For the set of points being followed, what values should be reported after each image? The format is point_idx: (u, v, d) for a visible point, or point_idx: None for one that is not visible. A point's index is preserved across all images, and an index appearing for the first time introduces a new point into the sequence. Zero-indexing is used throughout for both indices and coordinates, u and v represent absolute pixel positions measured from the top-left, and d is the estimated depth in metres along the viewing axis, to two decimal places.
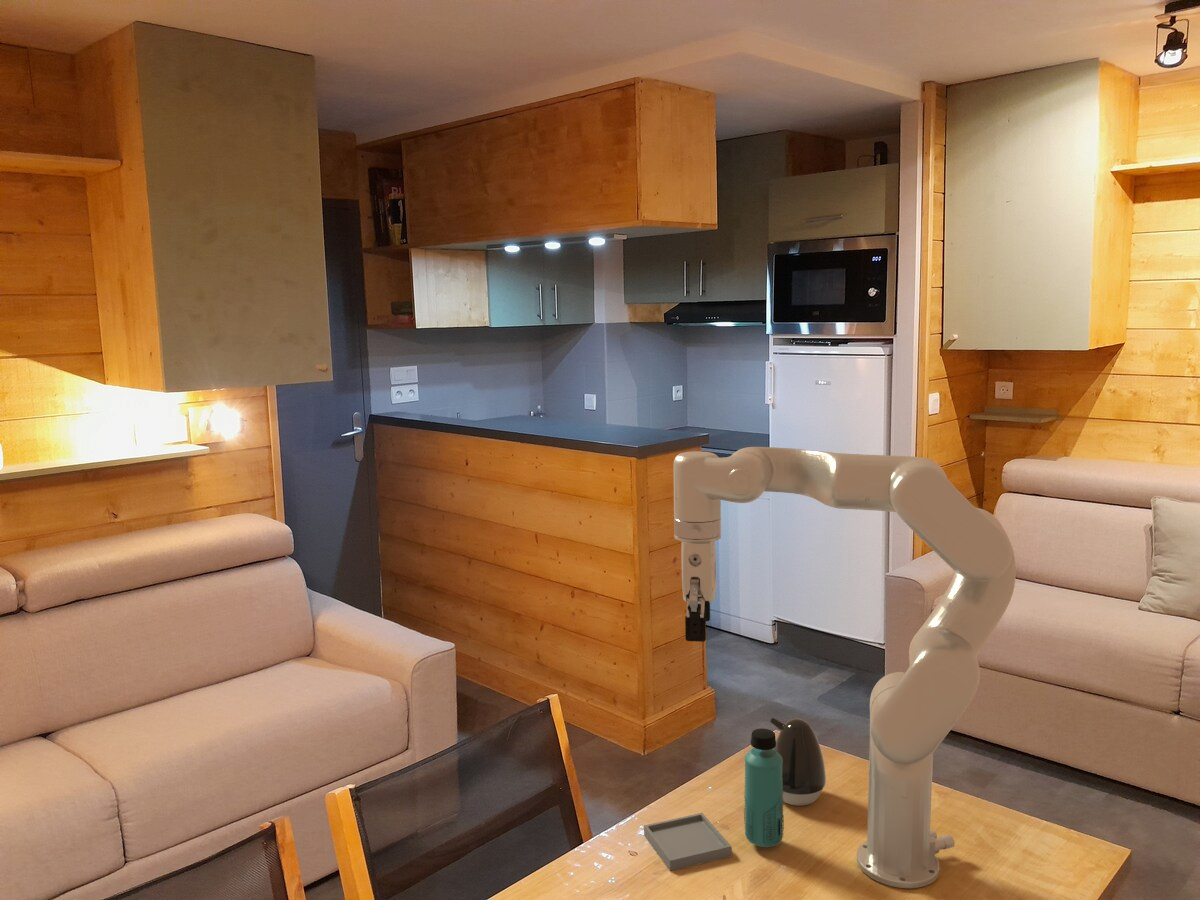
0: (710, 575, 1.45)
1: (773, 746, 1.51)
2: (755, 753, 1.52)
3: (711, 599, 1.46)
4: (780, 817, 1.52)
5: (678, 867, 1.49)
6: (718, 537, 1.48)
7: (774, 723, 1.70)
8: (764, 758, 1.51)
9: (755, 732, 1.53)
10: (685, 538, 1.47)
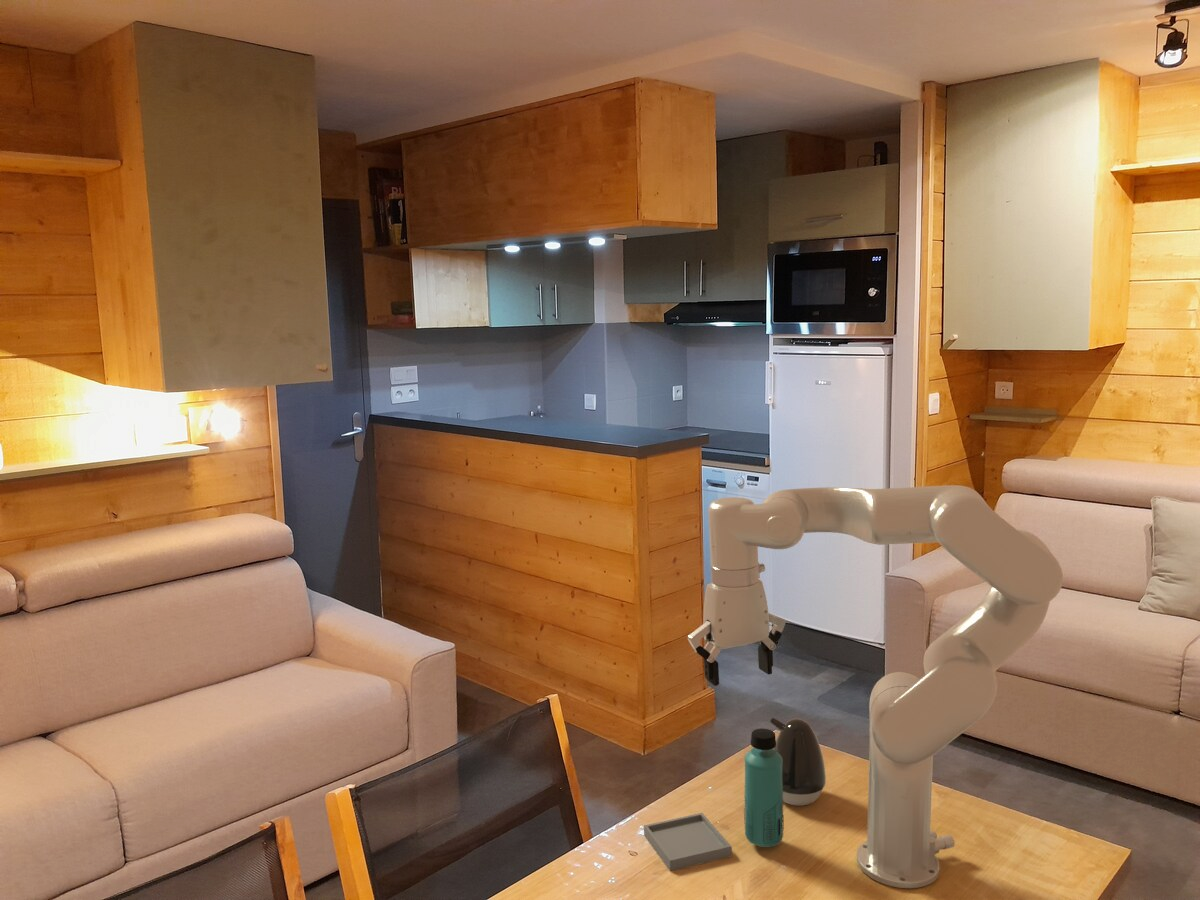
0: None
1: (773, 746, 1.51)
2: (755, 753, 1.52)
3: None
4: (780, 817, 1.52)
5: (678, 867, 1.49)
6: None
7: (774, 723, 1.70)
8: (764, 758, 1.51)
9: (755, 732, 1.53)
10: None
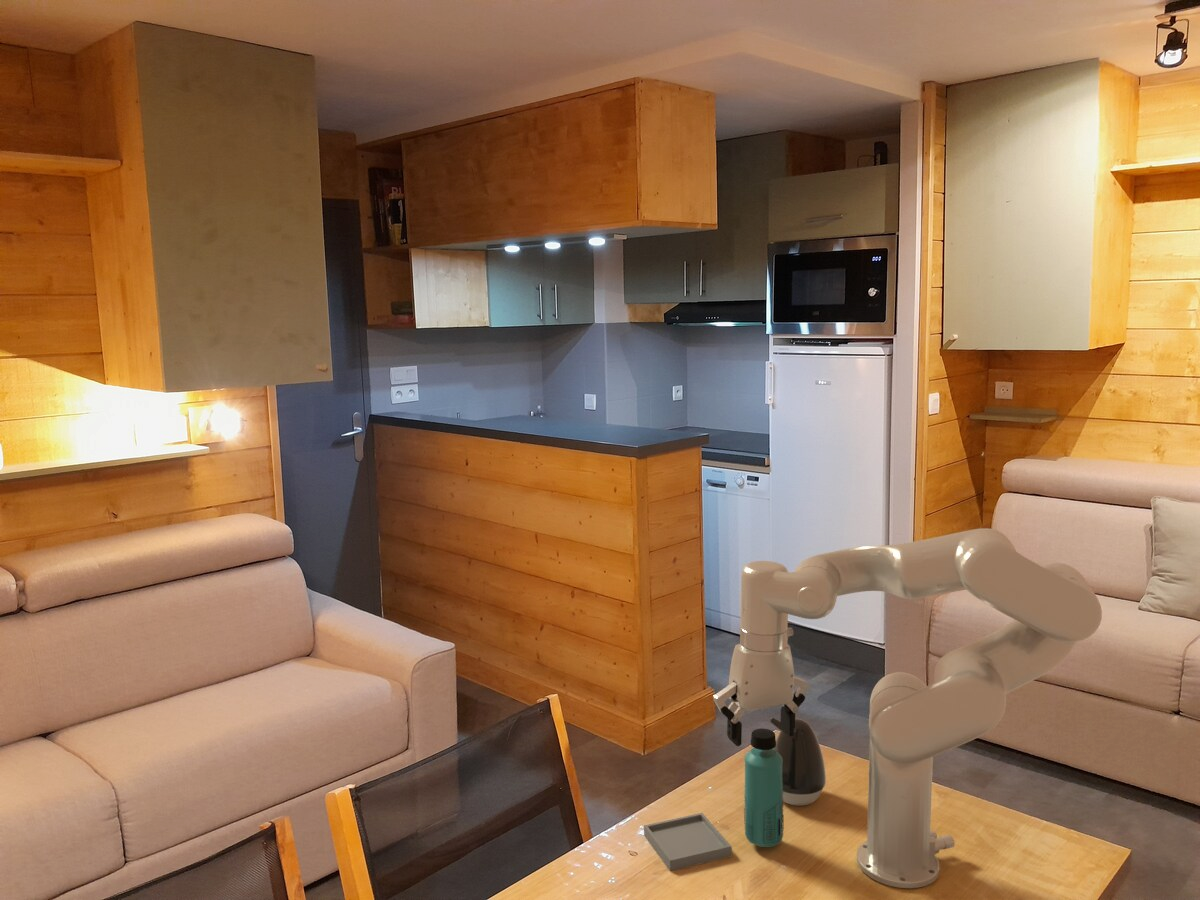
0: None
1: (773, 746, 1.51)
2: (755, 753, 1.52)
3: None
4: (780, 817, 1.52)
5: (678, 867, 1.49)
6: None
7: (774, 723, 1.70)
8: (764, 758, 1.51)
9: (755, 732, 1.53)
10: None
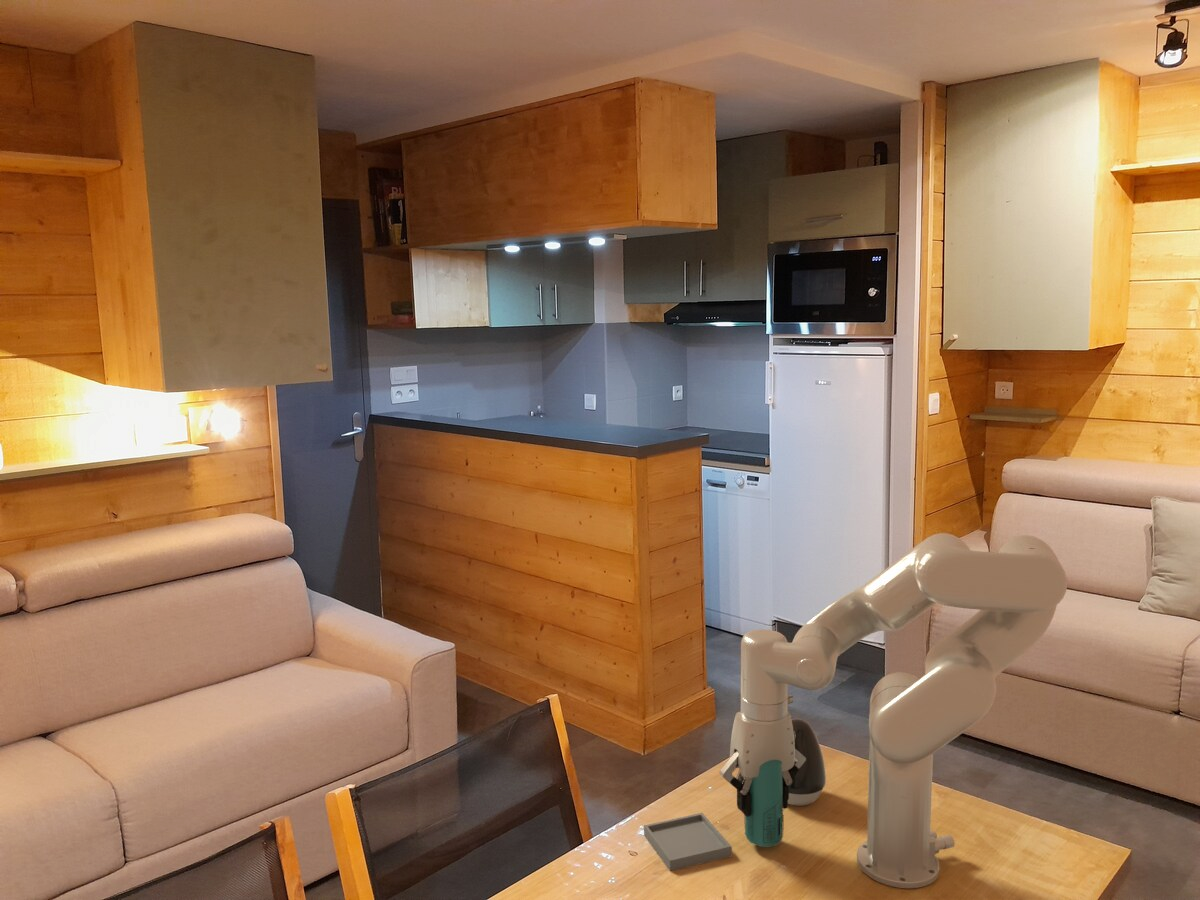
0: None
1: None
2: None
3: None
4: (780, 817, 1.52)
5: (678, 867, 1.49)
6: None
7: None
8: None
9: None
10: None
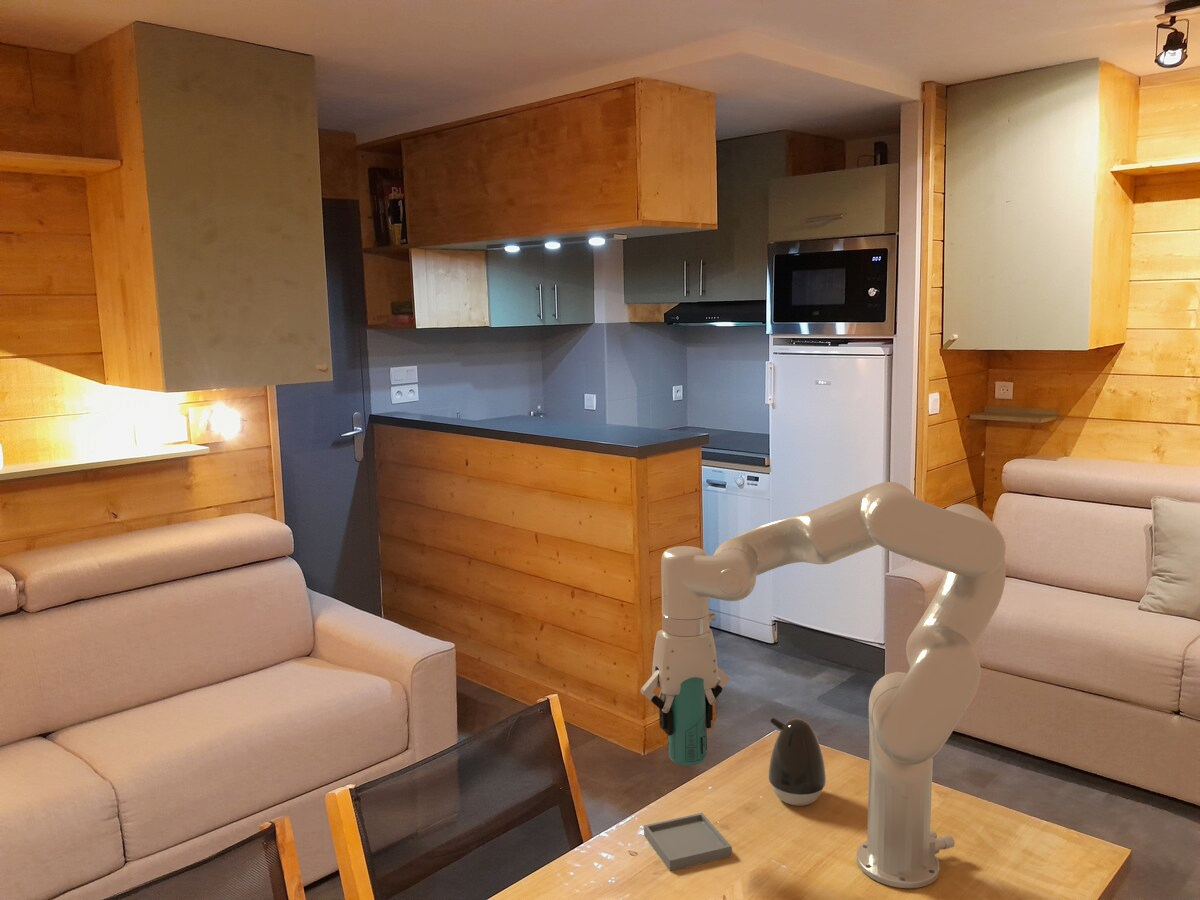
0: None
1: None
2: None
3: None
4: (703, 735, 1.51)
5: (678, 867, 1.49)
6: None
7: (774, 723, 1.70)
8: None
9: None
10: (708, 628, 1.49)
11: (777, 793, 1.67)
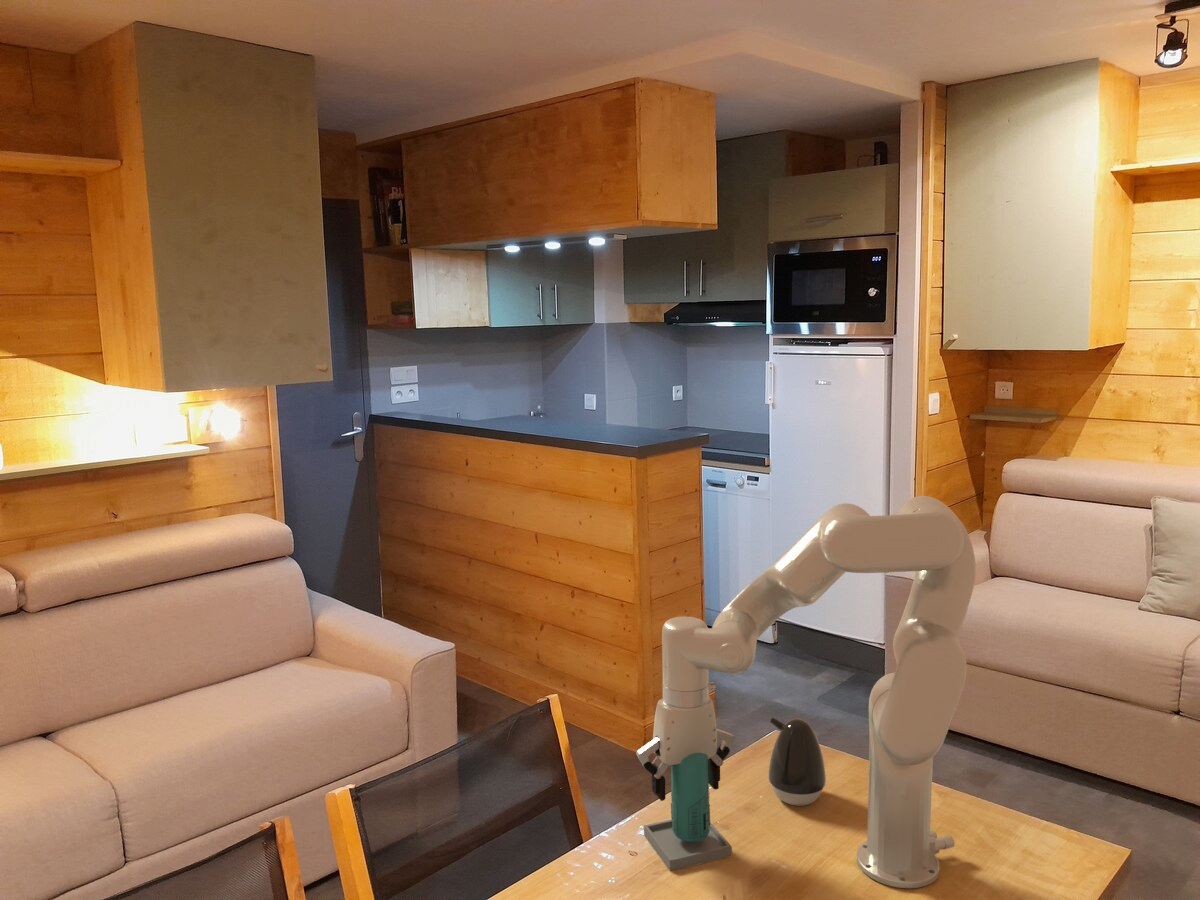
0: None
1: None
2: None
3: None
4: (706, 812, 1.53)
5: (678, 867, 1.49)
6: None
7: (774, 723, 1.70)
8: None
9: None
10: (708, 698, 1.51)
11: (777, 793, 1.67)
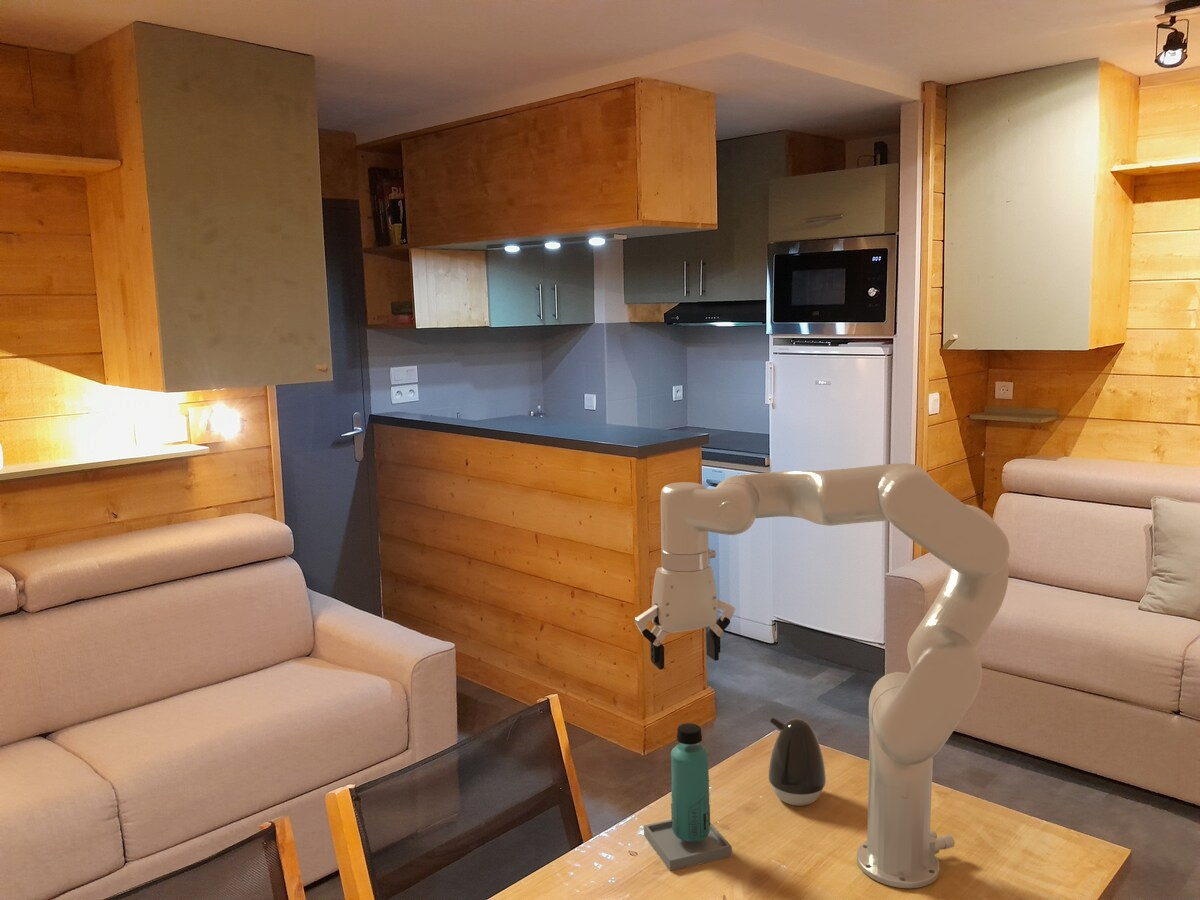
0: None
1: (698, 741, 1.51)
2: (681, 748, 1.53)
3: None
4: (706, 812, 1.53)
5: (678, 867, 1.49)
6: None
7: (774, 723, 1.70)
8: (689, 753, 1.51)
9: (681, 727, 1.53)
10: (708, 565, 1.48)
11: (777, 793, 1.67)
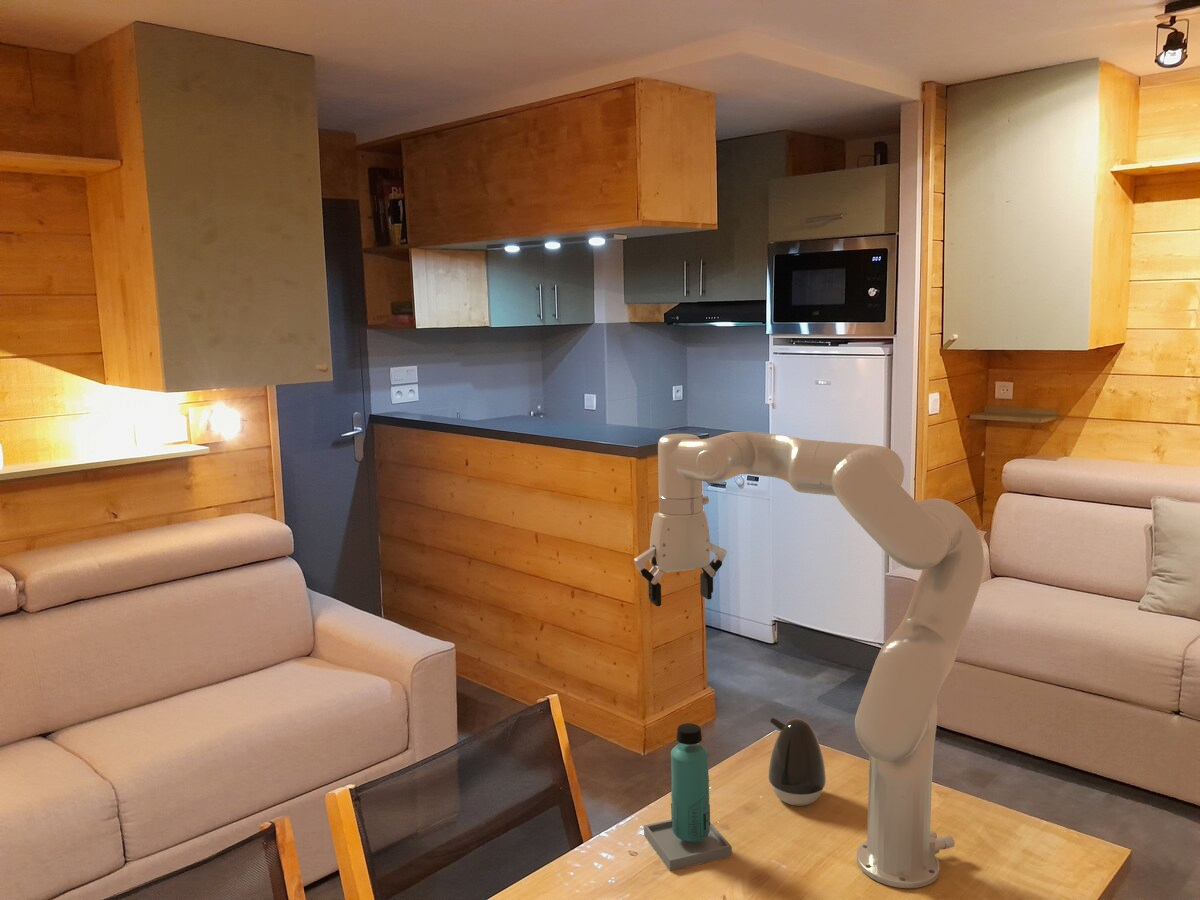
0: None
1: (698, 741, 1.51)
2: (681, 748, 1.53)
3: None
4: (706, 812, 1.53)
5: (678, 867, 1.49)
6: None
7: (774, 723, 1.70)
8: (689, 753, 1.51)
9: (681, 727, 1.53)
10: (701, 510, 1.60)
11: (777, 793, 1.67)
